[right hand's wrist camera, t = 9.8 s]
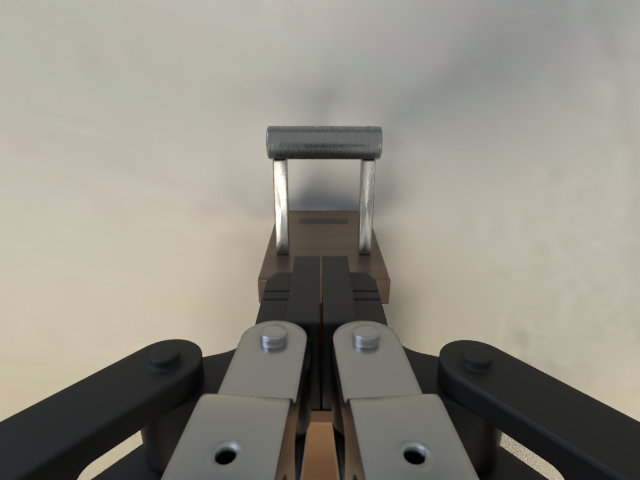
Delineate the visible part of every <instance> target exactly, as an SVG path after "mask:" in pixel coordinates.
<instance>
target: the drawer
mask: <svg viewBox="0 0 640 480" xmlns="http://www.w3.org/2000/svg"><path fill="white" fill-rule="evenodd" d="M266 146H267V155H268V158H269V159H274V160H273V180H274V206H275V224H274V228H273V231H272V234H271V238H270V241H269V244H268V248H267V251H266V254H265V258H264V261H263V264H262V268H261V271H260V275H259V278H258V291H259V303H261V301H262V297H263V293H264V289H265V285H266V281H267V280H268V279H269V278H270V277H271V276H272V275H274V274H275V273H276V272H293V265H294V258H295V256H320V409H311V411H332V409H323V370H322V256H347V257H348V263H349V270H350V272H366V273H368V274H369V275H370V276H371V277H372V278H373V279H374V280H376V284H377V288H378V292H379V295H380V301H381V303H382V304H388V303H389V291H390V278H389V275H388V272H387V269H386V266H385V263H384V260H383V257H382V254H381V251H380V248H379V245H378V242H377V239H376V237H375V234H374V231H373V228H372V222H373V202H374V182H375V162H376V161H375V159H380V157H381V153H382V129H381V127H379V126H269V127H268V128H267V134H266ZM287 159H361V168H360V195H359V211H289V206H288V167H287Z"/></svg>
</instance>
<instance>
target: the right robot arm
mask: <svg viewBox="0 0 640 480" xmlns="http://www.w3.org/2000/svg"><path fill="white" fill-rule="evenodd" d="M322 370H323V409H332V444H333V452H334V460H335V468H336V475H337V480H549V479H547V478H546V477H544V476H543V475H541V474H540V473H539V472H537V471H536V470H534V469H533V468H531V467H530V466H528V465H527V464H526V463H524V462H523V461H521V460H520V459H518V458H517V457H516V456H514V455H513V454H511V453H510V452H508V451H507V450H505V449H504V448H503V447H501V446H500V442H501V437H502V432H503V433H505V434H506V435H508V436H509V437H511V438H513V439H514V440H516V441H517V442H519V443H520V444H522V445H523V446H525V447H526V448H528V449H529V450H531V451H532V452H534V453H535V454H537V455H538V456H540V457H541V458H543V459H544V460H546V461H547V462H549V463H550V464H551V465H553V466H554V467H555V468H556V469H557V470H558V471H559V472H560V473H561V475H562V476H563V478H564V479H565V480H640V422H639V421H637V420H635V419H633V418H631V417H629V416H627V415H625V414H623V413H621V412H619V411H617V410H615V409H613V408H611V407H610V406H608V405H606V404H604V403H602V402H600V401H598V400H596V399H594V398H592V397H590V396H588V395H586V394H584V393H582V392H581V391H579V390H577V389H575V388H573V387H571V386H569V385H567V384H565V383H563V382H561V381H559V380H557V379H555V378H553V377H551V376H550V375H548V374H546V373H544V372H542V371H540V370H538V369H536V368H534V367H532V366H530V365H528V364H526V363H524V362H522V361H521V360H519V359H517V358H515V357H513V356H511V355H509V354H507V353H505V352H503V351H501V350H499V349H497V348H495V347H493V346H491V345H488V344H485V343H482V342H478V341H471V340H459V341H454V342H450V343H448V344H446V345H445V346H444V347H443V348H442V349H441V351H440V355H439V357H437V356H432V355H427V354H422V353H418V352H415V351H412V350H409V349H407V348H405V347H403V346H402V344H401V342H400V340H399V337H398V335H397V334H396V333H395V332H394V331H393V330H392V329H391V328H389V327H388V325H387V321H386V318H385V314H384V310H383V306H382V303H381V301H380V295H379V292H378V288H377V284H376V280H374V279H373V278H372V277H371V276H370V275H369V274H368V273H366V272H350V270H349V263H348V257H347V256H322ZM311 409H320V256H295V258H294V265H293V272H276V273H275V274H274V275H272V276H271V277H270V278H269V279H268V280H267V281H266V285H265V289H264V293H263V297H262V301H261V305H260V309H259V312H258V316H257V320H256V324H255V325H254V326H252V327H251V328H249V329H248V330H247V331H246V332H245V333H244V334H243V335H242V337H241V340H240V342H239V344H238V347H237V348H236V349H234V350H231V351H229V352H225V353H221V354H217V355H212V356H207V357H202V351H201V349H200V347H199V346H198V345H196V344H195V343H193V342H191V341H187V340H181V339H173V340H165V341H160V342H157V343H154V344H151V345H149V346H147V347H145V348H143V349H141V350H139V351H137V352H135V353H133V354H131V355H129V356H127V357H125V358H123V359H121V360H119V361H118V362H116V363H114V364H112V365H110V366H108V367H106V368H104V369H102V370H100V371H98V372H96V373H94V374H92V375H90V376H89V377H87V378H85V379H83V380H81V381H79V382H77V383H75V384H73V385H71V386H69V387H67V388H65V389H63V390H61V391H60V392H58V393H56V394H54V395H52V396H50V397H48V398H46V399H44V400H42V401H40V402H38V403H36V404H34V405H32V406H30V407H29V408H27V409H25V410H23V411H21V412H19V413H17V414H15V415H13V416H11V417H9V418H7V419H5V420H3V421H1V422H0V480H77V479H78V477H79V475H80V474H81V473H82V471H83V470H84V469H85V468H86V467H87V466H88V465H89V464H90V463H92V462H93V461H94V460H96V459H97V458H99V457H100V456H102V455H103V454H105V453H106V452H108V451H109V450H111V449H112V448H114V447H115V446H117V445H119V444H120V443H122V442H123V441H125V440H126V439H128V438H129V437H131V436H132V435H134V434H135V433H137V432H138V431H141V435H142V440H143V444H142V445H140V446H139V447H137V448H136V449H135V450H133V451H132V452H130V453H129V454H127V455H126V456H124V457H123V458H122V459H120V460H119V461H117V462H116V463H114V464H113V465H112V466H110V467H109V468H107V469H106V470H104V471H103V472H101V473H100V474H99V475H97V476H96V477H94V478H93V479H91V480H303V475H304V468H305V460H306V452H307V444H308V428H309V425H310V422H311Z"/></svg>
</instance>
